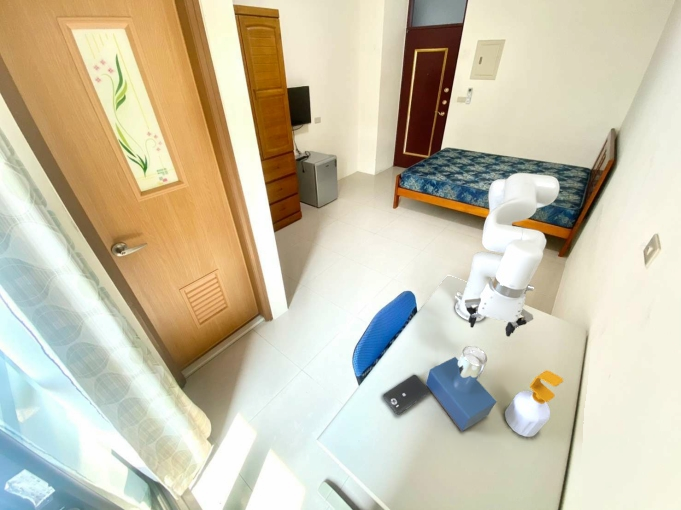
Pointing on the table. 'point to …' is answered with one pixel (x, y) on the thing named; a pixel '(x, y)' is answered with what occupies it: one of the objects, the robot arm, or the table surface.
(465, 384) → the beer glass
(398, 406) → the smartphone
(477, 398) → the blue rectangular box
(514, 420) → the soap bottle
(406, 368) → the table surface
